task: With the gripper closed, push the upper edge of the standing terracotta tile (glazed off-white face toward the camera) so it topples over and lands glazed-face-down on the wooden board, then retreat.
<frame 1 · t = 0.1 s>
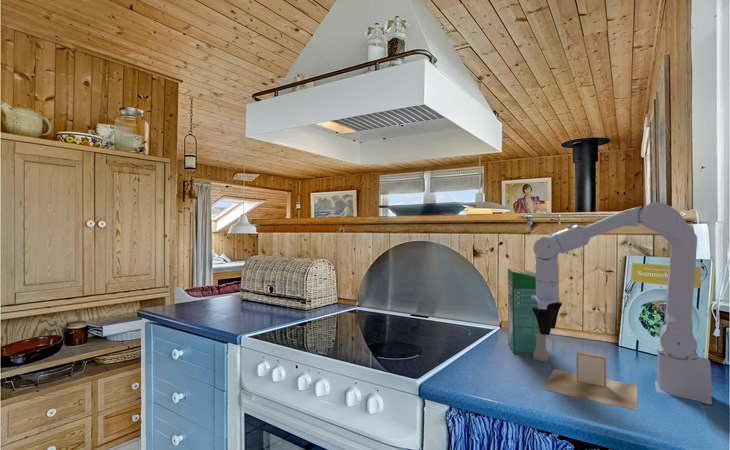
hand: (547, 331, 103), 10 cm above the worktop, fingers open, 7 cm apart
wooden board: (590, 389, 89), on the worktop
tile: (591, 383, 91), point 1 cm above the worktop, touching wooden board
rook chess piece: (541, 361, 109), on the worktop
milk carton: (525, 349, 119), on the worktop
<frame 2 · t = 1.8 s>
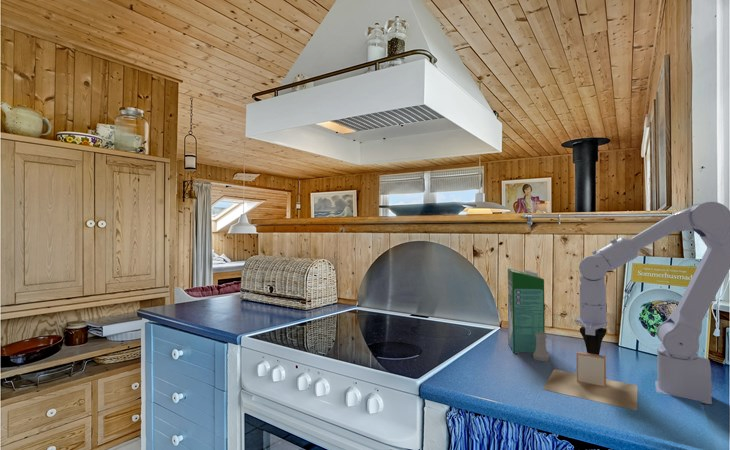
hand: (593, 357, 96), 5 cm above the worktop, fingers closed
nothing on the worktop moved.
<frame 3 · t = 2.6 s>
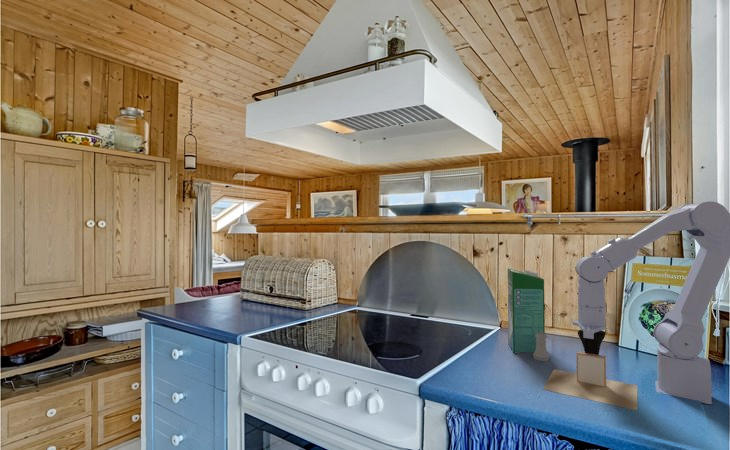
hand: (591, 361, 93), 5 cm above the worktop, fingers closed
nothing on the worktop moved.
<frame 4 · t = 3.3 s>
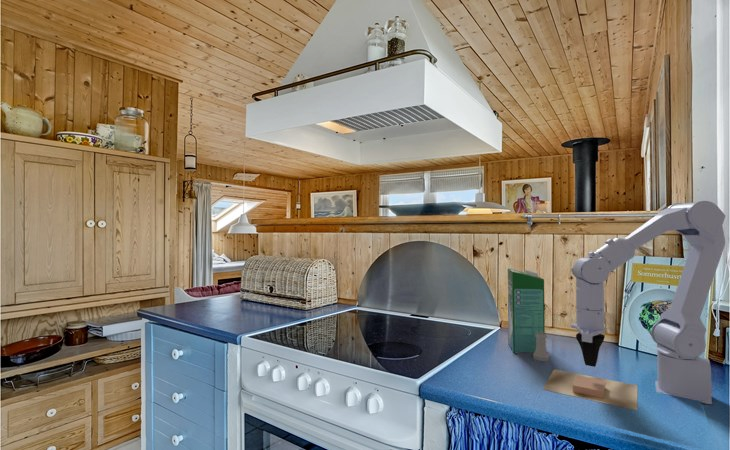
hand: (590, 365, 90), 5 cm above the worktop, fingers closed
tile: (591, 381, 91), point 1 cm above the worktop, tilted 90°, touching wooden board
everything else where it was.
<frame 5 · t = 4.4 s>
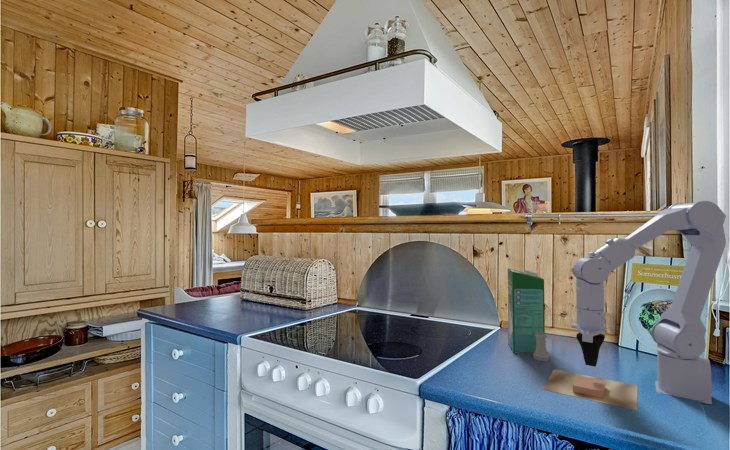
hand: (590, 365, 91), 5 cm above the worktop, fingers closed
nothing on the worktop moved.
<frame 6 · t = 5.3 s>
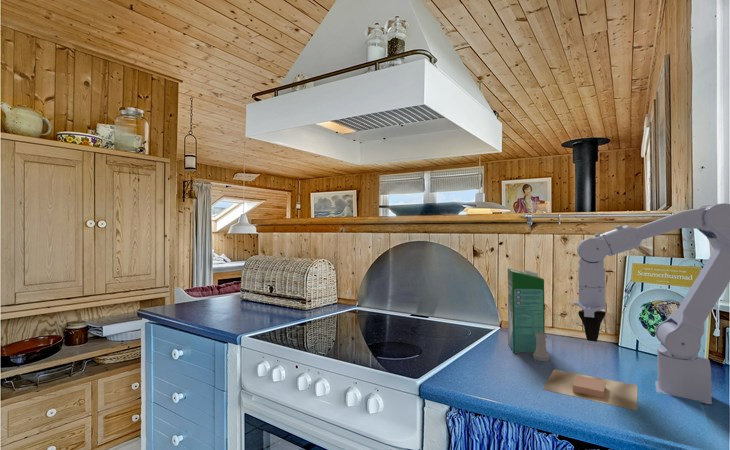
hand: (592, 340, 95), 10 cm above the worktop, fingers closed
nothing on the worktop moved.
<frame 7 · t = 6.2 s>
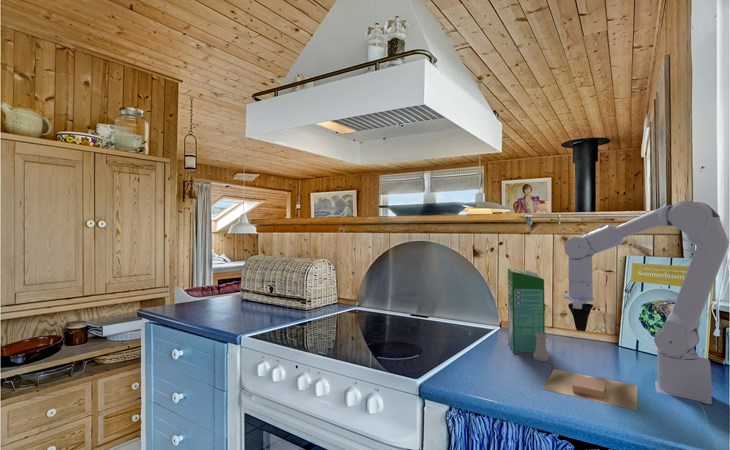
hand: (581, 330, 104), 10 cm above the worktop, fingers closed
nothing on the worktop moved.
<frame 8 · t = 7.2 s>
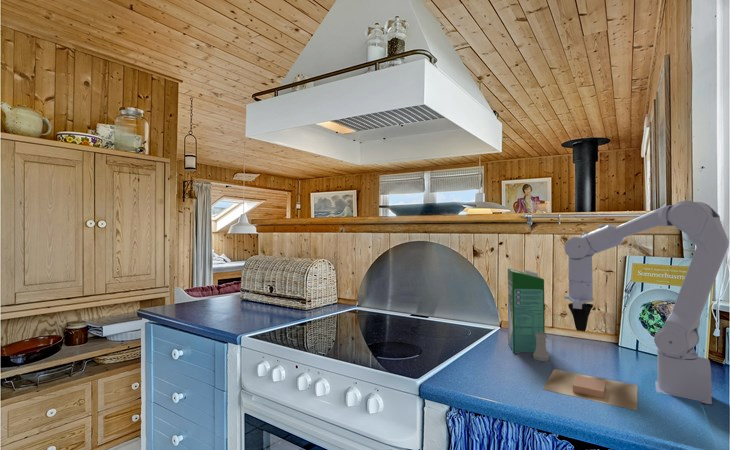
hand: (581, 330, 104), 10 cm above the worktop, fingers closed
nothing on the worktop moved.
at the end: tile tilted 90°; tile inside the target area on the wooden board (1.6 cm from its centre), point 1.5 cm above the wooden board's base; tile touching wooden board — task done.
